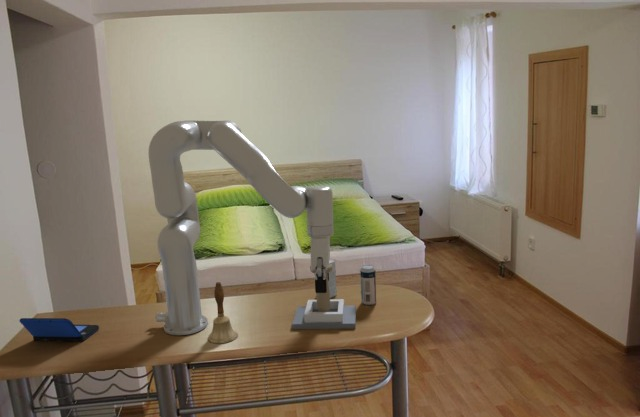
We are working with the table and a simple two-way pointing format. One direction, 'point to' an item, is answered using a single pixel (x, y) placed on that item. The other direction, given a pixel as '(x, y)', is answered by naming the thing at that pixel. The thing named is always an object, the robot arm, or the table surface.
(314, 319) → the socket board
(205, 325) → the robot arm
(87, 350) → the table surface
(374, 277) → the beer can
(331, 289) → the skincare box
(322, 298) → the handle
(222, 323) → the hand bell
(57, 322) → the handheld game console
